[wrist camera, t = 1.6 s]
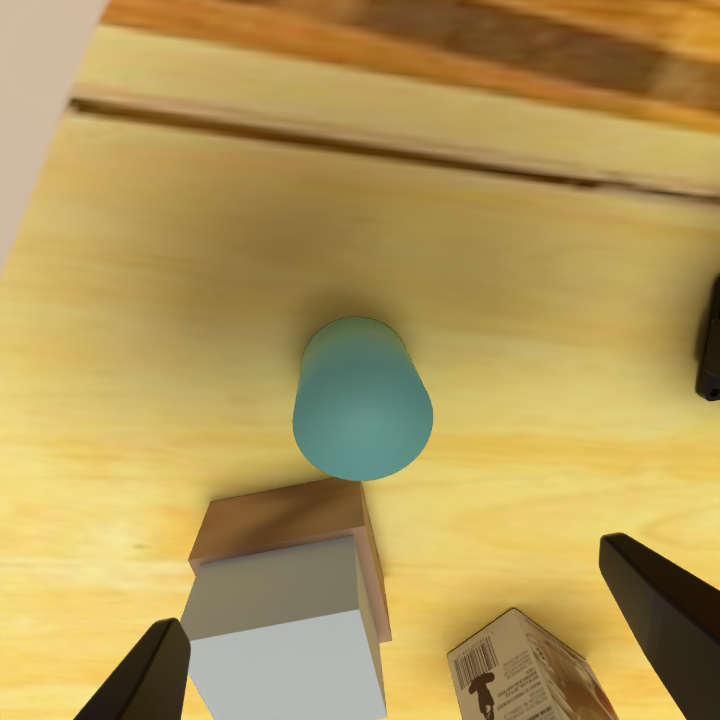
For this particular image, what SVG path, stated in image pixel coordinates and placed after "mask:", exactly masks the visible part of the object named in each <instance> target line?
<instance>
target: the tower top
mask: <svg viewBox="0 0 720 720" xmlns="http://www.w3.org/2000/svg"><path fill="white" fill-rule="evenodd" d="M180 624H181V626H182V628H183V630H184V631H185V633H186V635H187V637H188V639H189V641H190V645H191V655H190V662H189V669H188V674H189V675H190V677H191V679H192V681H193V683H194V685H195V686H196V688H197V690H198V692H199V694H200V695H201V697H202V699H203V701H204V703H205V704H206V706H207V708H208V710H209V712H210V713H211V715H212V717H213V719H214V720H375V719H380V718H385V717H387V711H386V701H385V692H384V683H383V674H382V665H381V656H380V647H379V638H378V633H377V629H376V625H375V620H374V616H373V612H372V608H371V604H370V600H369V596H368V592H367V587H366V583H365V579H364V575H363V571H362V567H361V563H360V559H359V554H358V550H357V546H356V542H355V538H354V535H353V536H348V537H342V538H337V539H332V540H326V541H321V542H316V543H310V544H305V545H300V546H295V547H289V548H284V549H279V550H273V551H268V552H263V553H257V554H252V555H247V556H241V557H236V558H231V559H225V560H220V561H215V562H209V563H204V564H200V566H199V569H198V572H197V575H196V578H195V581H194V584H193V586H192V589H191V592H190V595H189V598H188V601H187V604H186V606H185V609H184V612H183V615H182V618H181V621H180Z"/></svg>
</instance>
